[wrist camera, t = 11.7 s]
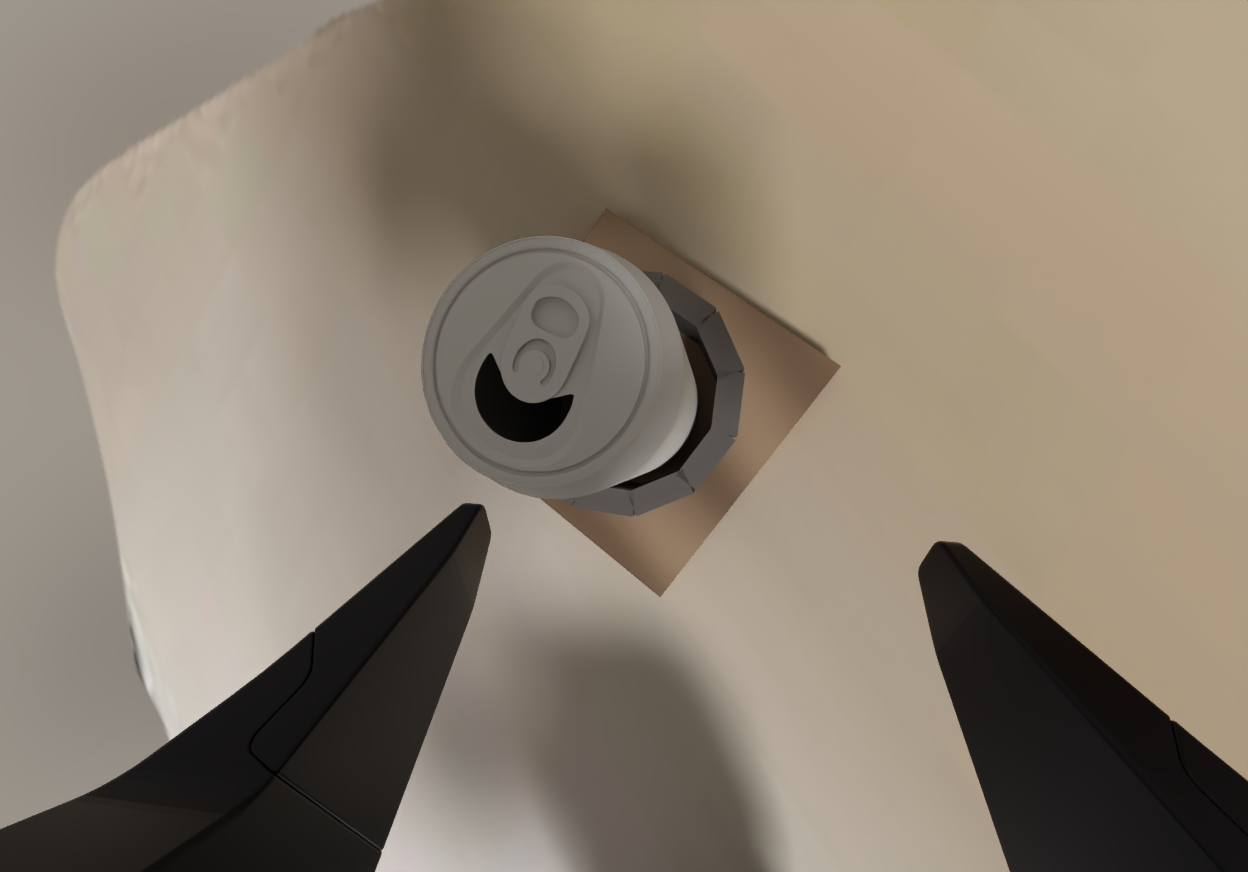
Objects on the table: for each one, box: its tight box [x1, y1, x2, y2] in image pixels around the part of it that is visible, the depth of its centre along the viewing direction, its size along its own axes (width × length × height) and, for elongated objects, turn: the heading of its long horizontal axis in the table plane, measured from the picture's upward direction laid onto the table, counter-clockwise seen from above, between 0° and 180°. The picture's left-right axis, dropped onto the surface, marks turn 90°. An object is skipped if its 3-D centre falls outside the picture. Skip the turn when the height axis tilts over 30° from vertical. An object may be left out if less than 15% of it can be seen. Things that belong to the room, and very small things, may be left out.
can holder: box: [540, 209, 841, 597], centre depth 21 cm, size 13×13×4 cm
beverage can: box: [421, 236, 699, 499], centre depth 16 cm, size 6×6×12 cm
